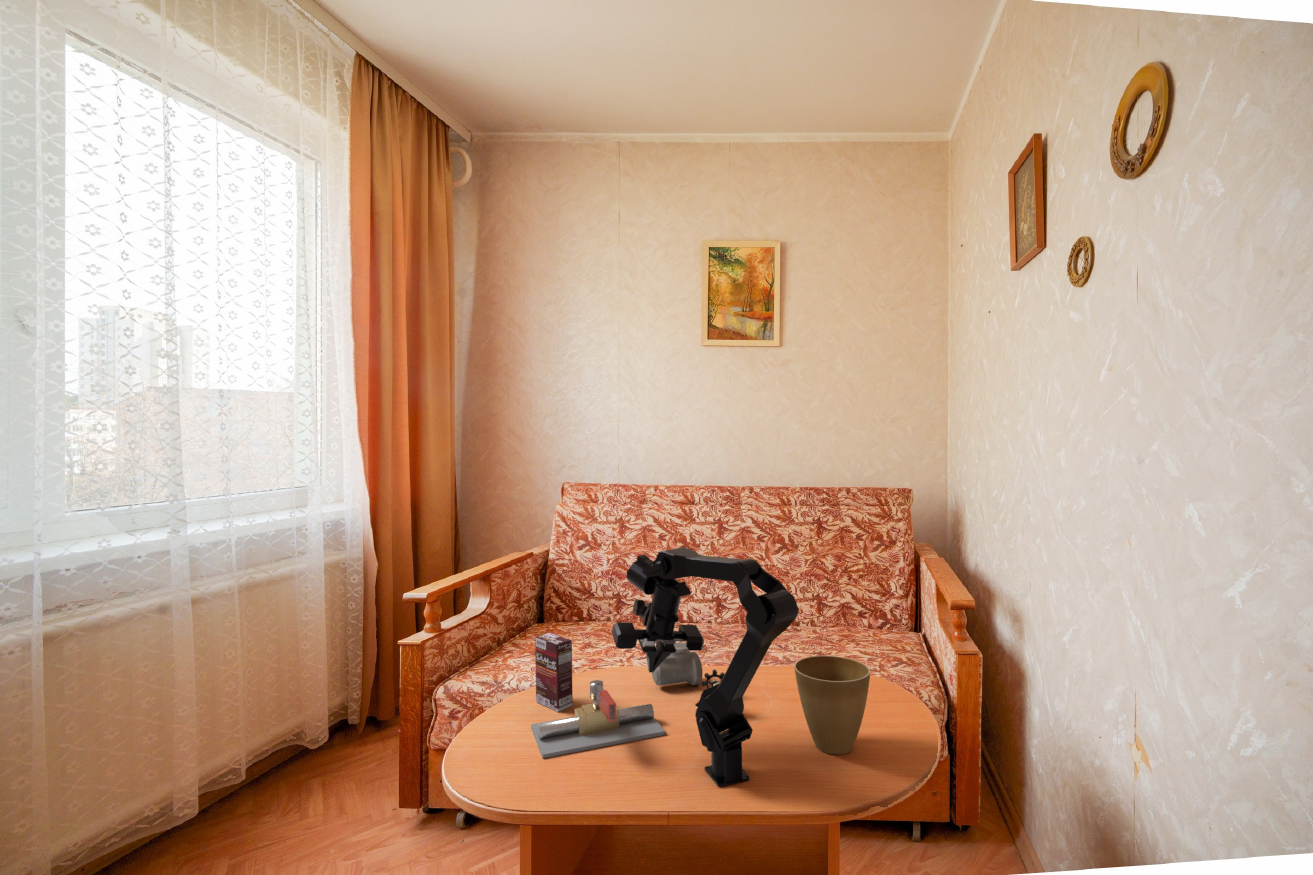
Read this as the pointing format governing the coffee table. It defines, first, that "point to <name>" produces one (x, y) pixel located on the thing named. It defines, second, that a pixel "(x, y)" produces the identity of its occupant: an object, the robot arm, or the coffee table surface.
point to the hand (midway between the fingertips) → (650, 671)
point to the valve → (714, 682)
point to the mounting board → (596, 737)
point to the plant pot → (833, 699)
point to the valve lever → (603, 700)
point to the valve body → (593, 720)
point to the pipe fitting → (679, 668)
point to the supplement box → (553, 671)
